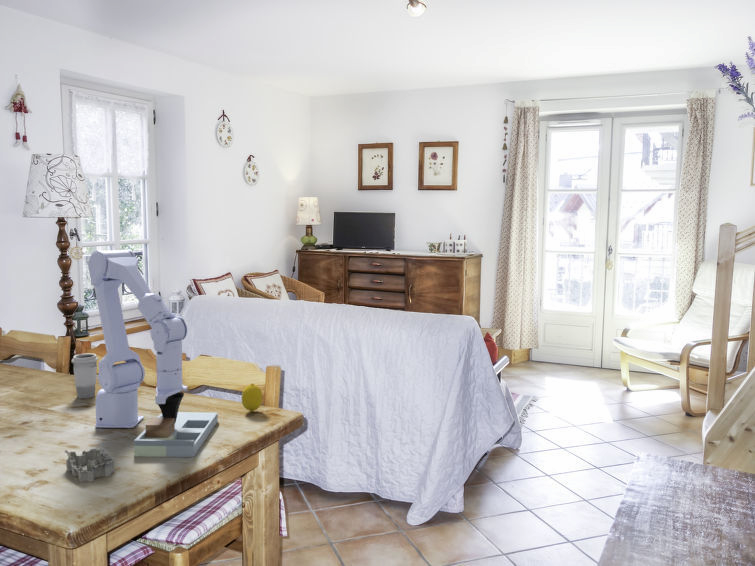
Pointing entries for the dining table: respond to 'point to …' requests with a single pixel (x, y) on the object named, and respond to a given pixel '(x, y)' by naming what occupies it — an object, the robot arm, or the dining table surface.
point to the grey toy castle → (90, 464)
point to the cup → (85, 374)
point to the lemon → (252, 397)
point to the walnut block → (160, 427)
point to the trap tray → (178, 436)
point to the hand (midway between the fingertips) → (170, 424)
